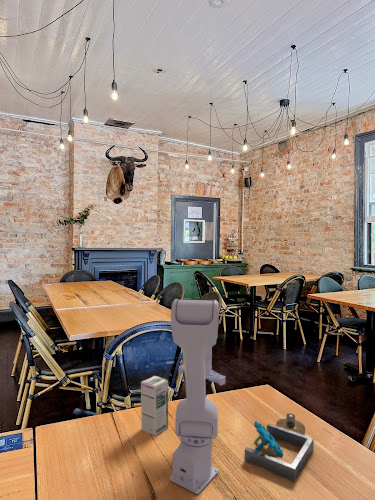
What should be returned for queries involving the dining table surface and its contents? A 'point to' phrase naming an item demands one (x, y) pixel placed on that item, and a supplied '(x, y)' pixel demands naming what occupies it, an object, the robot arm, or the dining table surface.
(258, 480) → the dining table surface
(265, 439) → the gear
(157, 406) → the syrup box
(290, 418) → the call bell
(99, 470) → the dining table surface
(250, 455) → the frame
